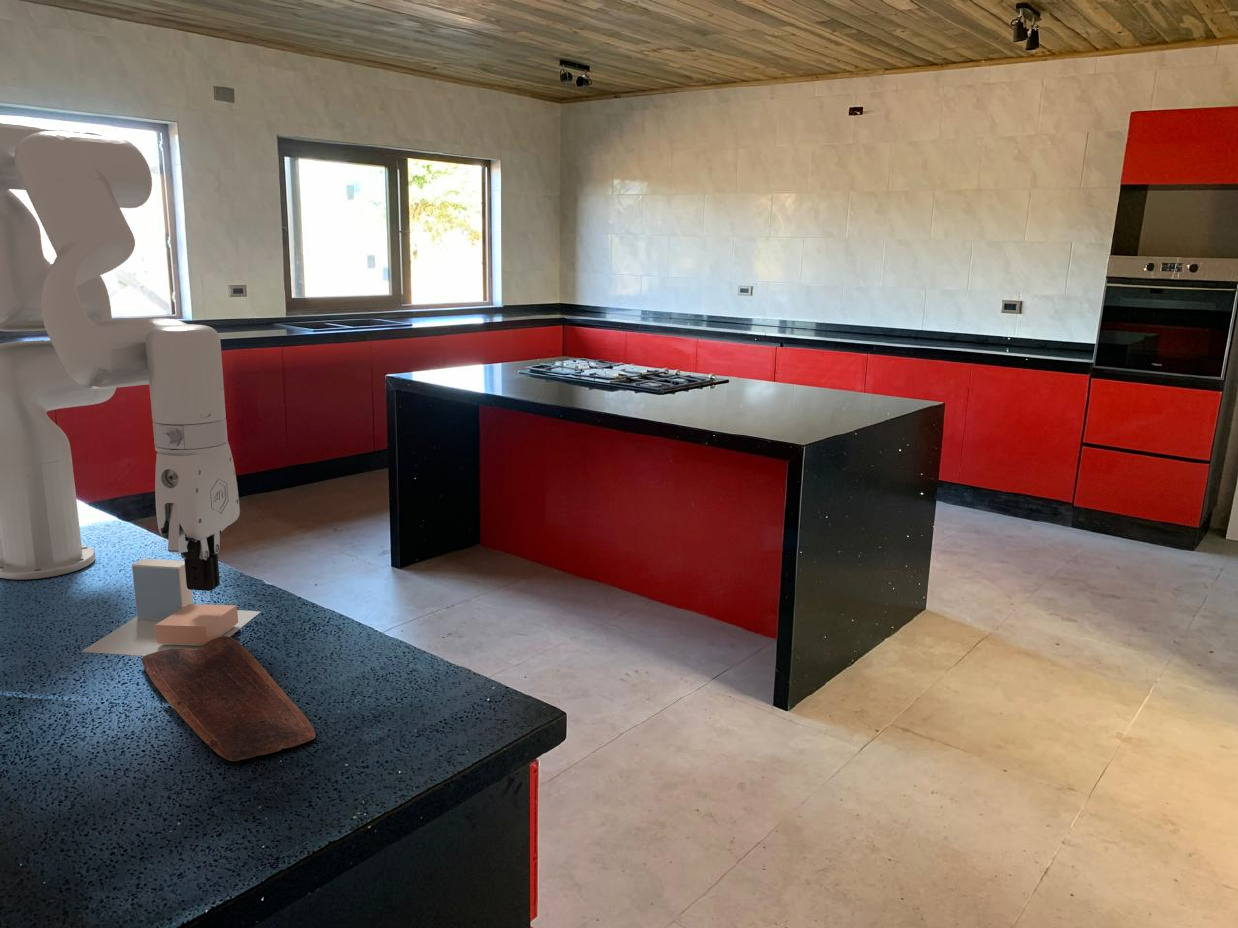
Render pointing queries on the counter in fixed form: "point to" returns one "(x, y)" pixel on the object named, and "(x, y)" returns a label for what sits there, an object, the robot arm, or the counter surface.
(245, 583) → the counter surface
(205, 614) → the salmon pink block
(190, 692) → the wooden tablet
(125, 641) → the grey mat
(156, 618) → the cream block
